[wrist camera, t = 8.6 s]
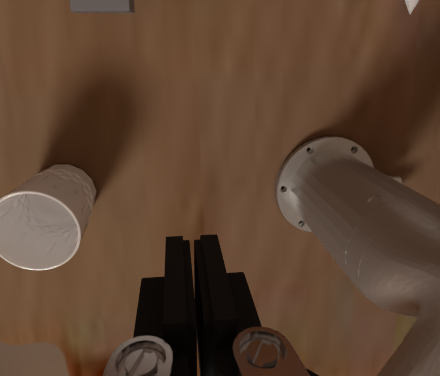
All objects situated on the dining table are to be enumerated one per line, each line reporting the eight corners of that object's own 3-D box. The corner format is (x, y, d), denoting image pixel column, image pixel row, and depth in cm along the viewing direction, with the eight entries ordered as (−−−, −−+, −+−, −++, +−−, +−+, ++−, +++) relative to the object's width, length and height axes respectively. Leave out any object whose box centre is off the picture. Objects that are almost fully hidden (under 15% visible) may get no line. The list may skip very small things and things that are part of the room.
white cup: (32, 151, 38) (-14, 182, 28) (106, 166, 39) (85, 200, 30) (27, 215, 40) (-17, 264, 31) (97, 227, 42) (75, 276, 32)
